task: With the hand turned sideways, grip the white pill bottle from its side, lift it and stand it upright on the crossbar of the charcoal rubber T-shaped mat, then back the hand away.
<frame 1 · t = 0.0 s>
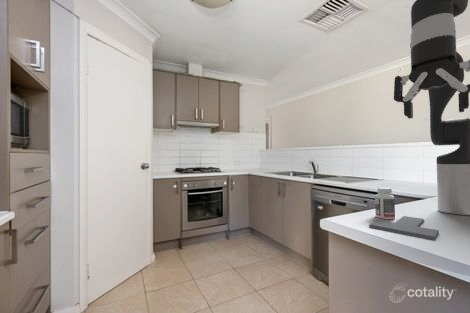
hand: (434, 115, 49), 29 cm above the countertop, tool pointing down, fingers open, 8 cm apart
pill bottle: (385, 218, 73), on the countertop
t mat: (407, 225, 65), on the countertop
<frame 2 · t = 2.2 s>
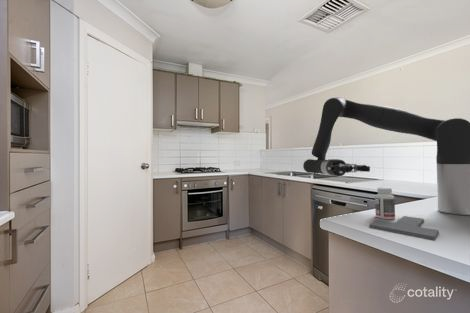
hand: (359, 169, 84), 16 cm above the countertop, tool horizontal, fingers open, 8 cm apart
nothing on the countertop moved.
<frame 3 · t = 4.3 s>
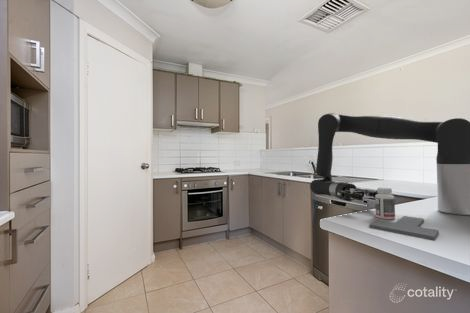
hand: (372, 196, 78), 6 cm above the countertop, tool horizontal, fingers open, 8 cm apart
nothing on the countertop moved.
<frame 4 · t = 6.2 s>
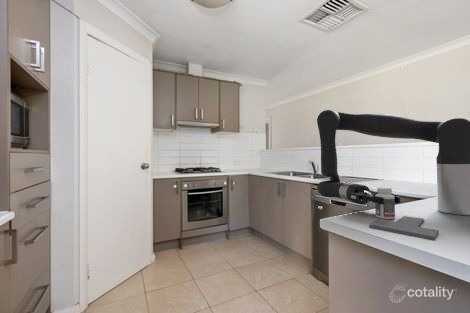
hand: (391, 200, 71), 6 cm above the countertop, tool horizontal, fingers closed on pill bottle, 5 cm apart
pill bottle: (385, 218, 73), on the countertop, touching gripper
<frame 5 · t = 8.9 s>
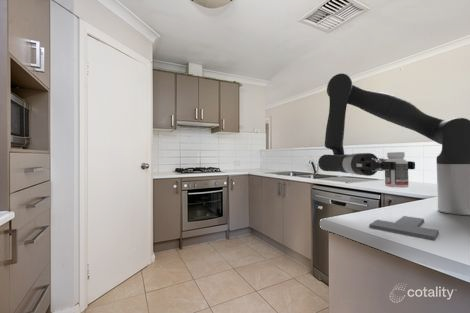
hand: (404, 165, 60), 18 cm above the countertop, tool horizontal, fingers closed on pill bottle, 5 cm apart
pill bottle: (396, 187, 63), point 11 cm above the countertop, touching gripper
when the fingers open (8 cm above the countertop, at t = 11.4 s): pill bottle drops 1 cm, resting on t mat.
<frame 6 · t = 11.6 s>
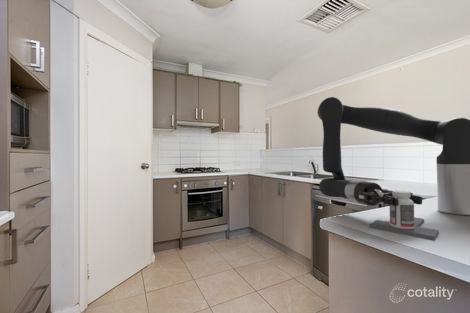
hand: (409, 201, 58), 8 cm above the countertop, tool horizontal, fingers open, 7 cm apart
pill bottle: (401, 227, 61), point 1 cm above the countertop, touching t mat
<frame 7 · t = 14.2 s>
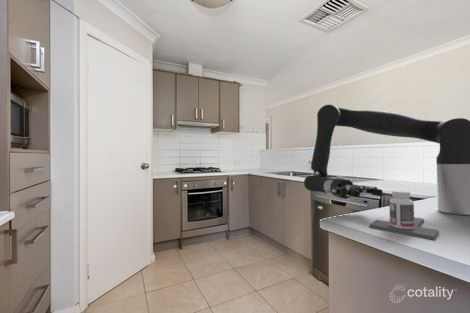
hand: (370, 193, 71), 8 cm above the countertop, tool horizontal, fingers open, 8 cm apart
nothing on the countertop moved.
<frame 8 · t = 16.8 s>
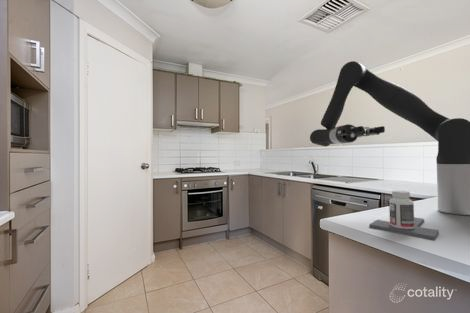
hand: (373, 129, 78), 30 cm above the countertop, tool horizontal, fingers open, 8 cm apart
nothing on the countertop moved.
at the end: pill bottle inside the target area on the t mat (0.1 cm from its centre), point 0.6 cm above the t mat's base; pill bottle tilted 0°; the gripper is holding nothing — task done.
